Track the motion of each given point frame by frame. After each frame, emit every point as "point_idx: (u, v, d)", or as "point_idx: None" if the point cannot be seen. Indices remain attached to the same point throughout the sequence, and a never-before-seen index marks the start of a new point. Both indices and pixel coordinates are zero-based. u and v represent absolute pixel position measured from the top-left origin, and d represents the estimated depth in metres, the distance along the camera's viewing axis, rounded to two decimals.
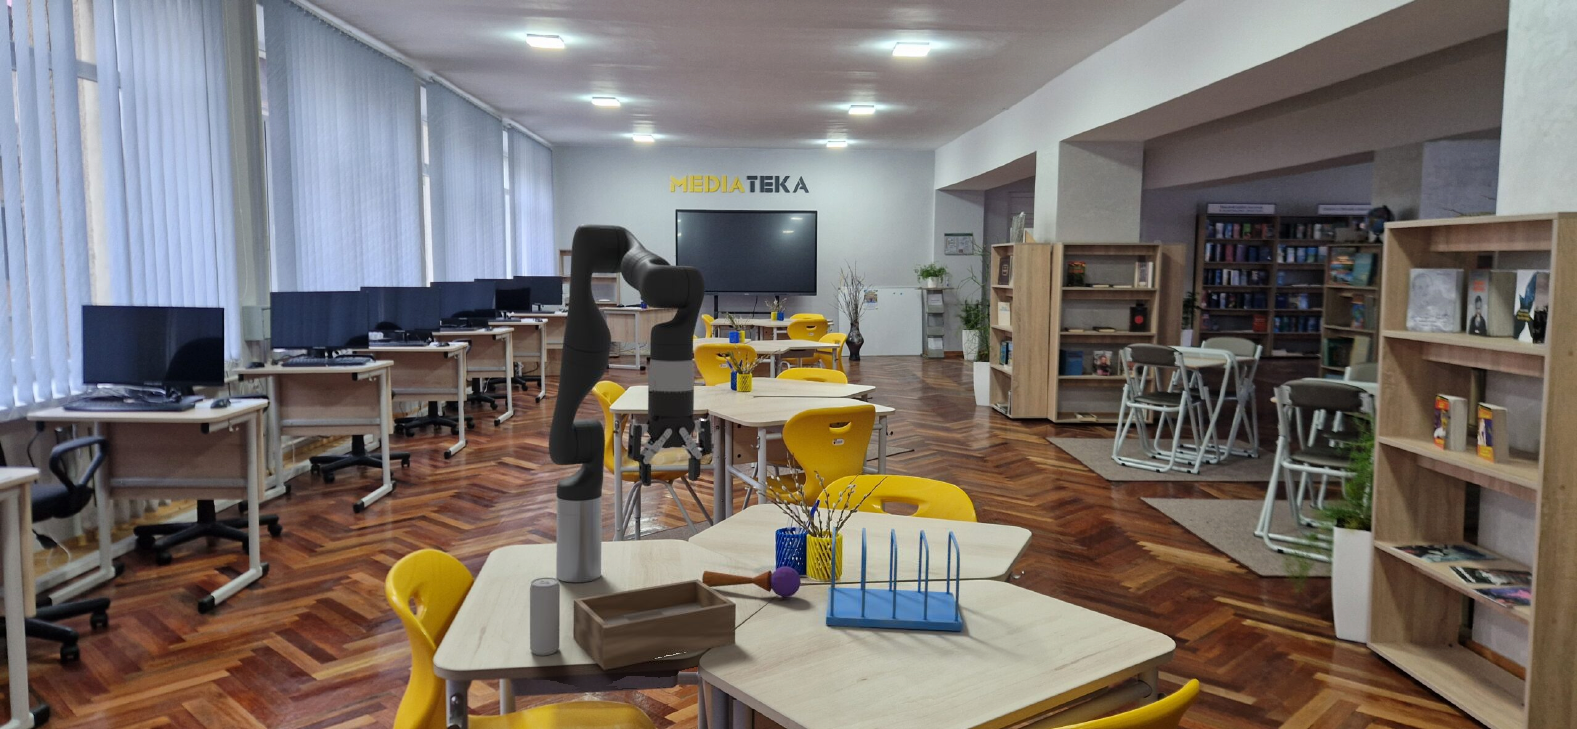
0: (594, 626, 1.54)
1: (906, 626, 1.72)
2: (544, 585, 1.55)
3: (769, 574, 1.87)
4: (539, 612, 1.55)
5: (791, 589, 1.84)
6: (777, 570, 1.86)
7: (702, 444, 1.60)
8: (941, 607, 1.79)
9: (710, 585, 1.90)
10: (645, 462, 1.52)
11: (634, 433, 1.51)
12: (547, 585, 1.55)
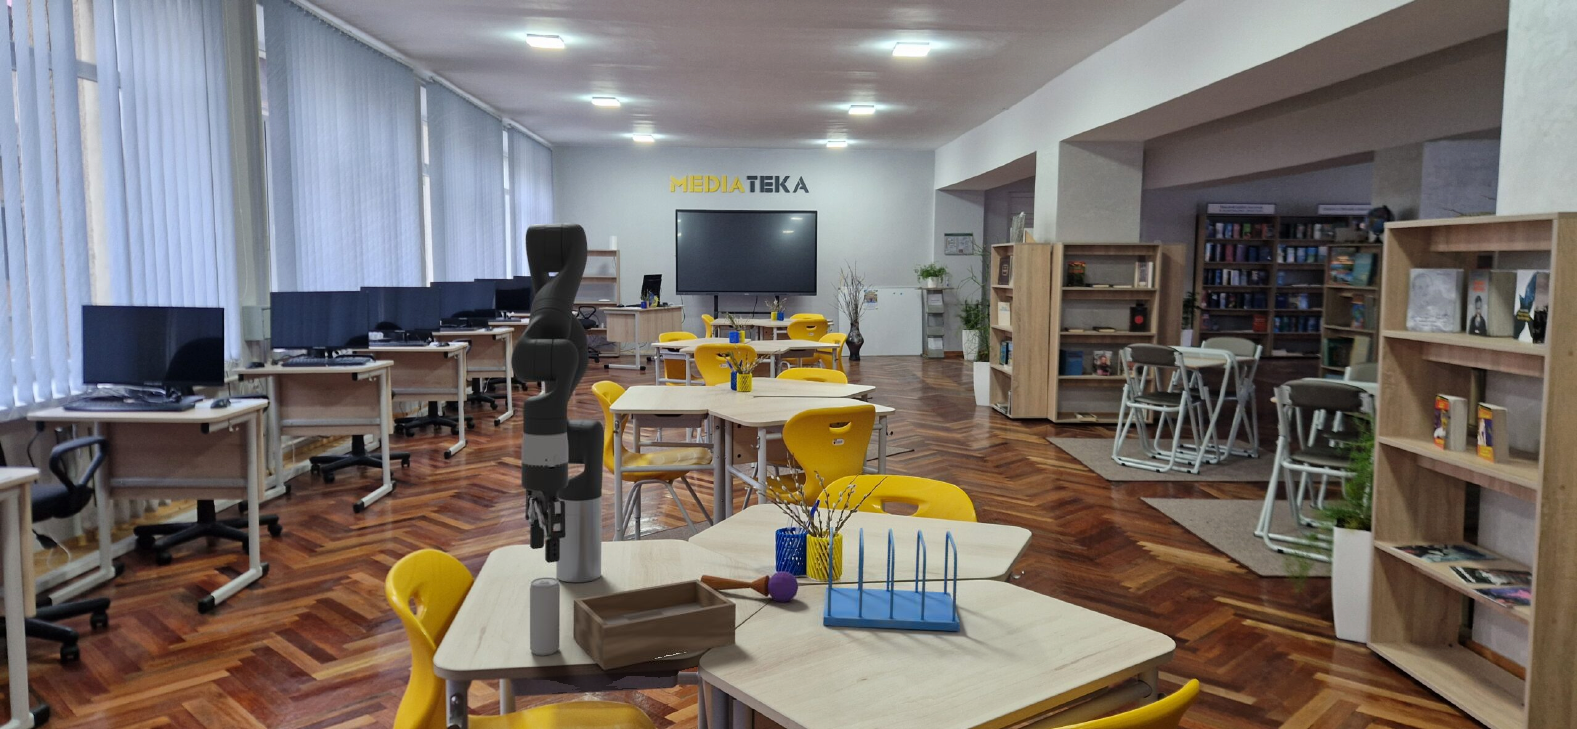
0: (594, 626, 1.54)
1: (904, 627, 1.71)
2: (544, 585, 1.55)
3: (766, 581, 1.85)
4: (539, 612, 1.55)
5: (789, 598, 1.83)
6: (773, 579, 1.84)
7: None
8: (938, 607, 1.79)
9: None
10: None
11: (564, 510, 1.50)
12: (547, 585, 1.55)
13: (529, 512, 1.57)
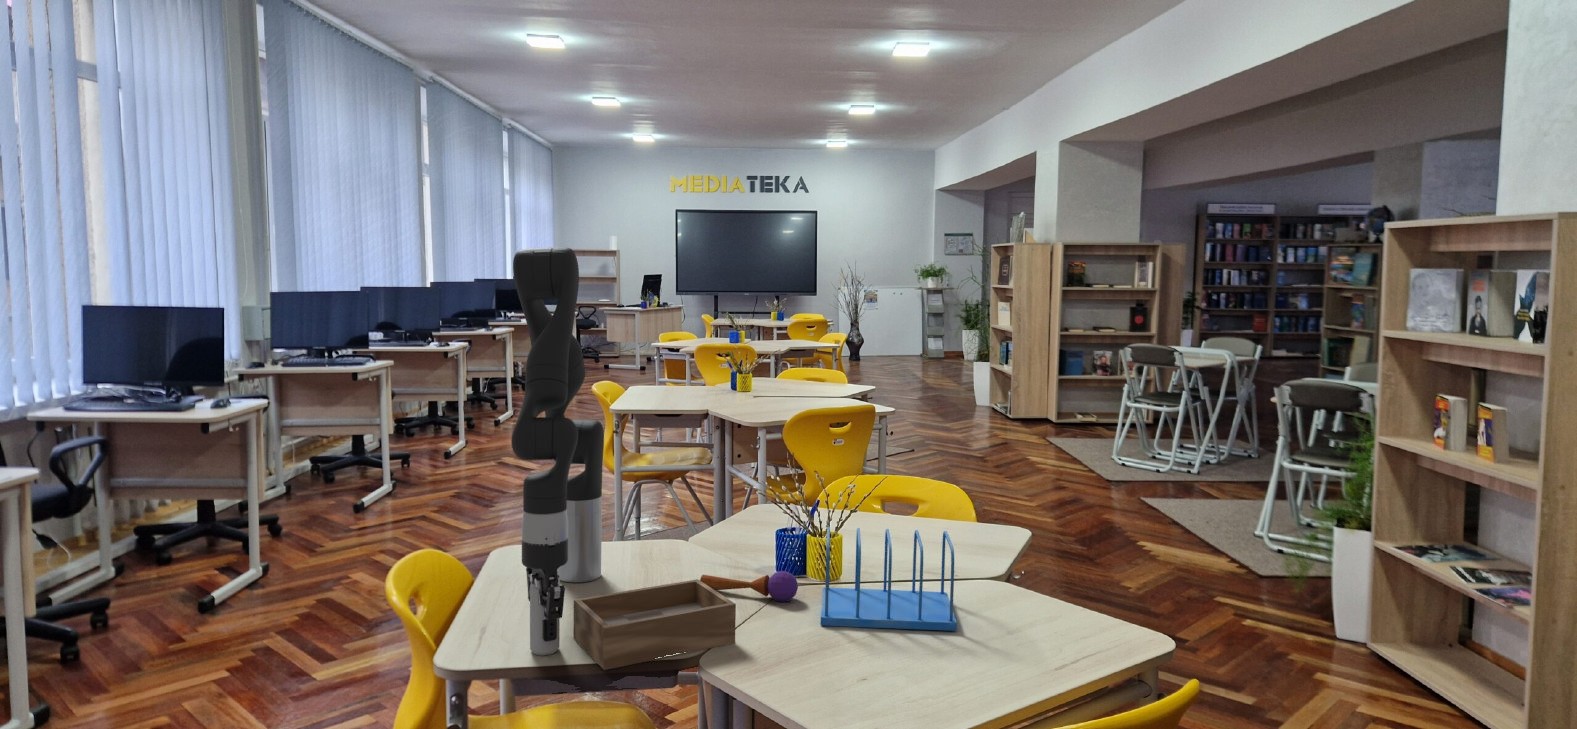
0: (594, 626, 1.54)
1: (901, 627, 1.71)
2: None
3: (765, 581, 1.86)
4: (539, 612, 1.55)
5: (789, 597, 1.84)
6: (773, 579, 1.84)
7: None
8: (936, 607, 1.79)
9: None
10: None
11: (563, 595, 1.52)
12: None
13: None
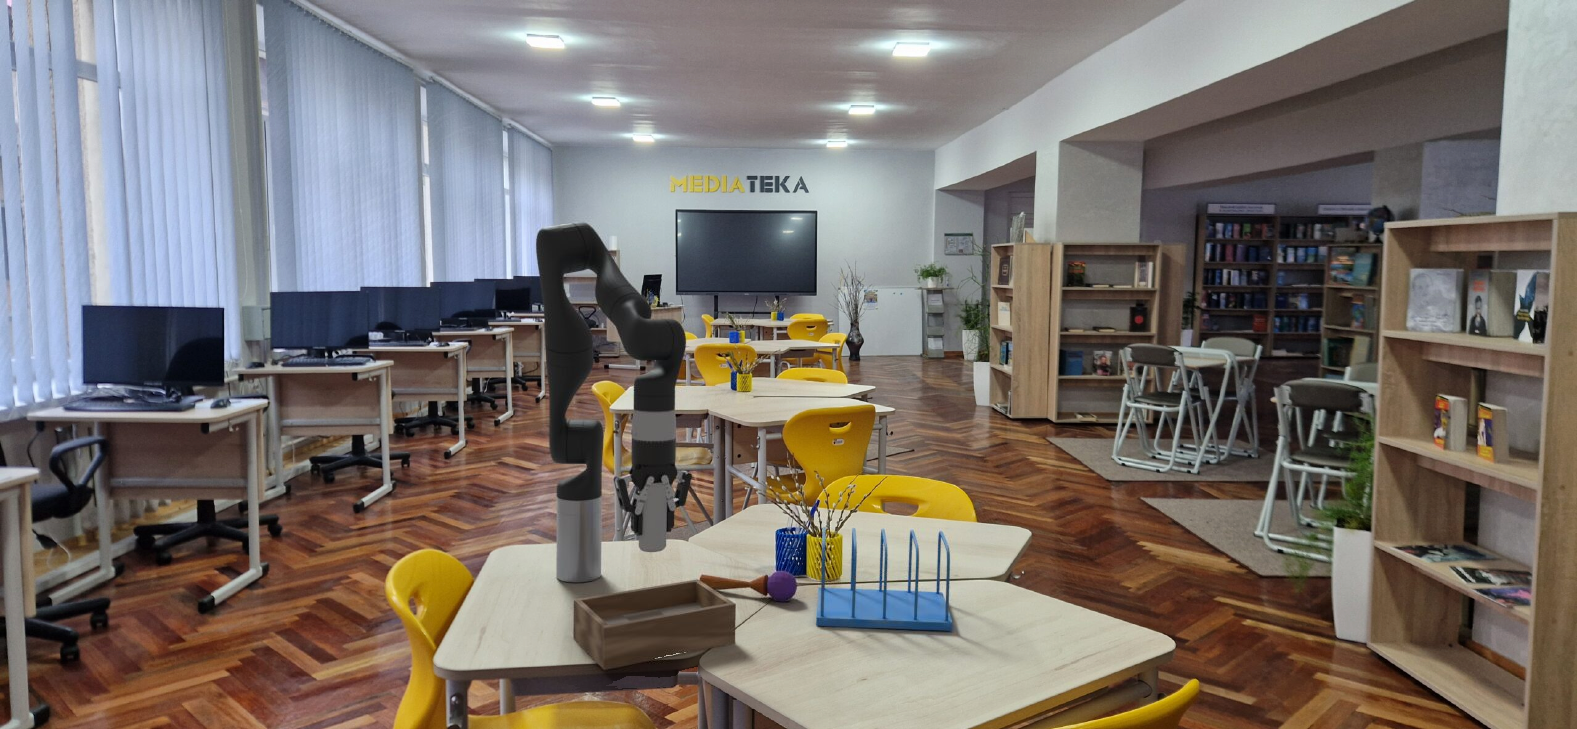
0: (594, 626, 1.54)
1: (897, 627, 1.71)
2: None
3: (765, 581, 1.86)
4: (666, 506, 1.61)
5: (788, 597, 1.84)
6: (772, 579, 1.84)
7: None
8: (931, 607, 1.79)
9: None
10: None
11: None
12: None
13: (644, 495, 1.58)
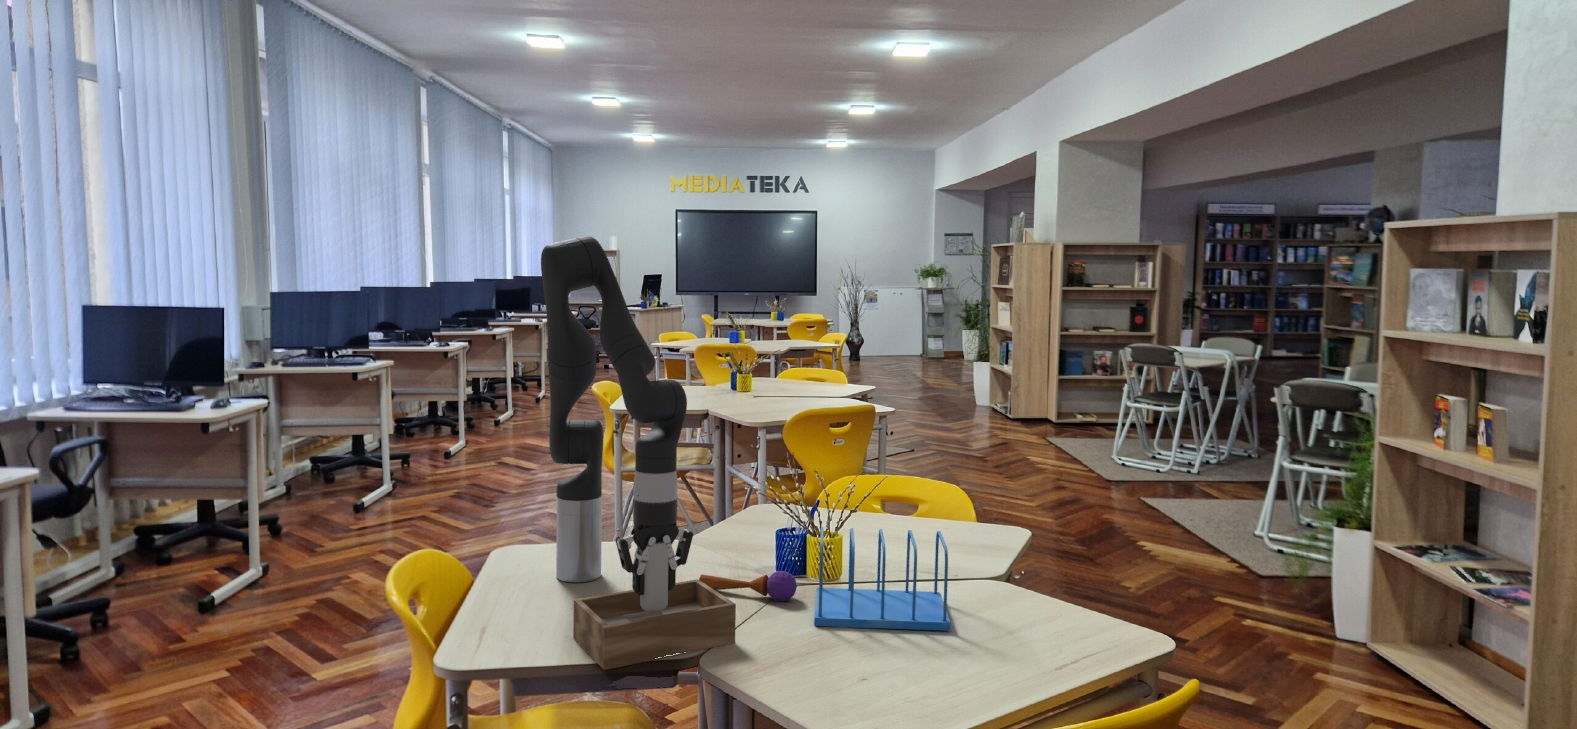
0: (594, 626, 1.54)
1: (895, 627, 1.71)
2: None
3: (764, 581, 1.86)
4: (667, 565, 1.62)
5: (788, 597, 1.84)
6: (772, 579, 1.84)
7: None
8: (929, 607, 1.79)
9: None
10: None
11: None
12: None
13: (646, 556, 1.59)
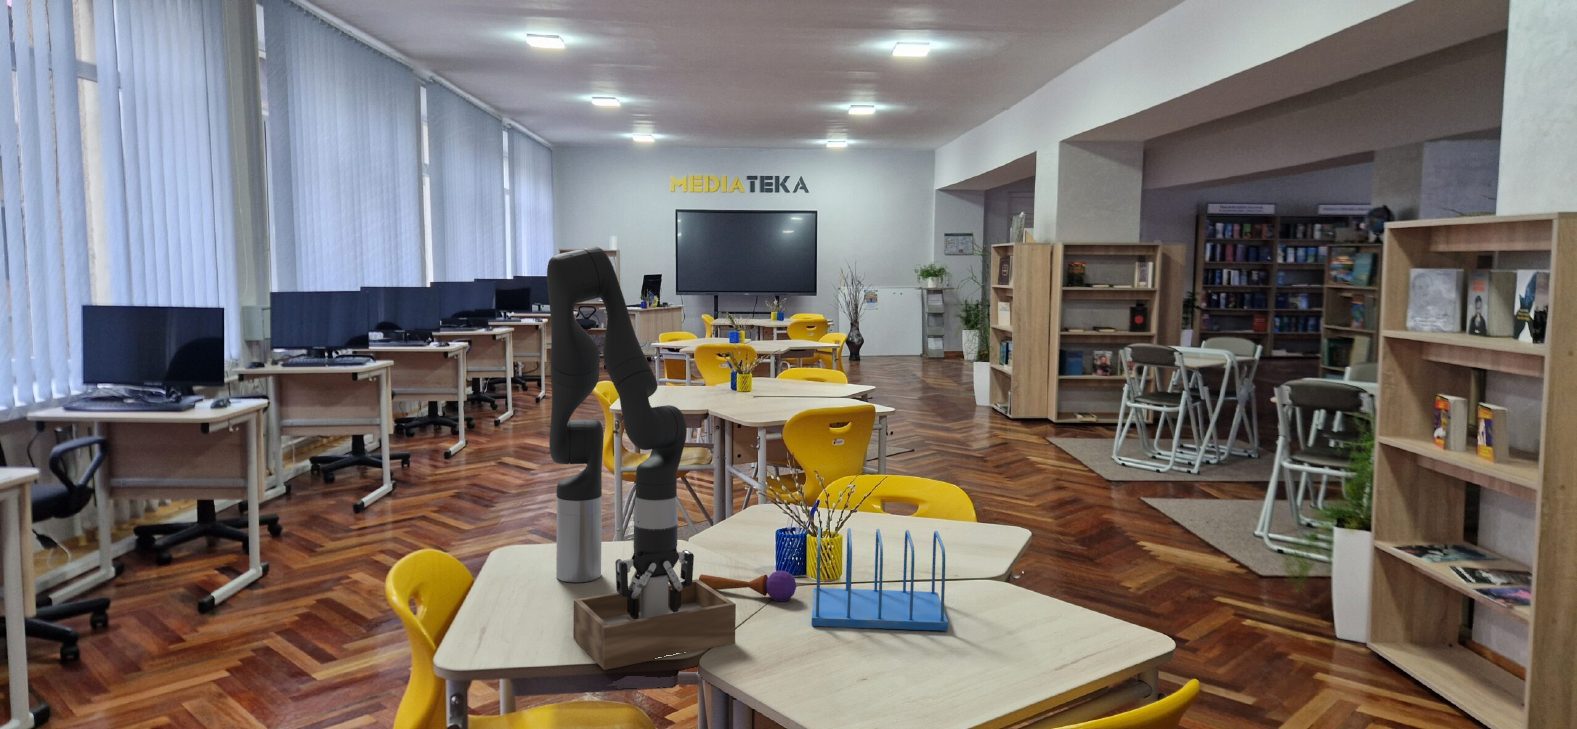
0: (594, 626, 1.54)
1: (892, 627, 1.71)
2: None
3: (764, 581, 1.86)
4: (667, 599, 1.62)
5: (787, 597, 1.84)
6: (771, 579, 1.84)
7: None
8: (927, 607, 1.79)
9: None
10: None
11: None
12: None
13: (644, 581, 1.60)
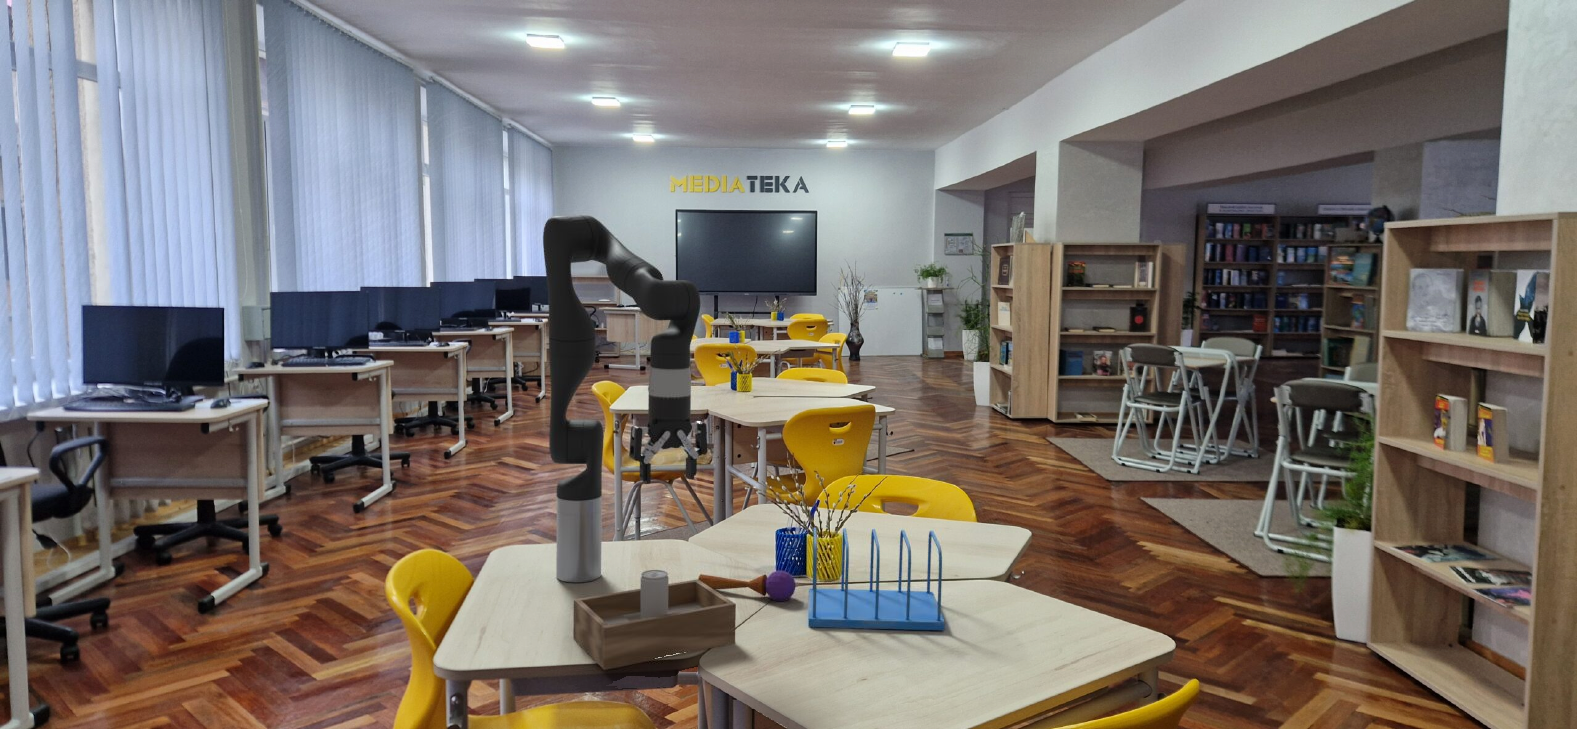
0: (594, 626, 1.54)
1: (889, 627, 1.71)
2: (664, 573, 1.63)
3: (763, 581, 1.86)
4: (667, 599, 1.62)
5: (787, 597, 1.84)
6: (770, 578, 1.84)
7: None
8: (923, 607, 1.79)
9: None
10: None
11: None
12: (663, 573, 1.63)
13: (657, 447, 1.65)
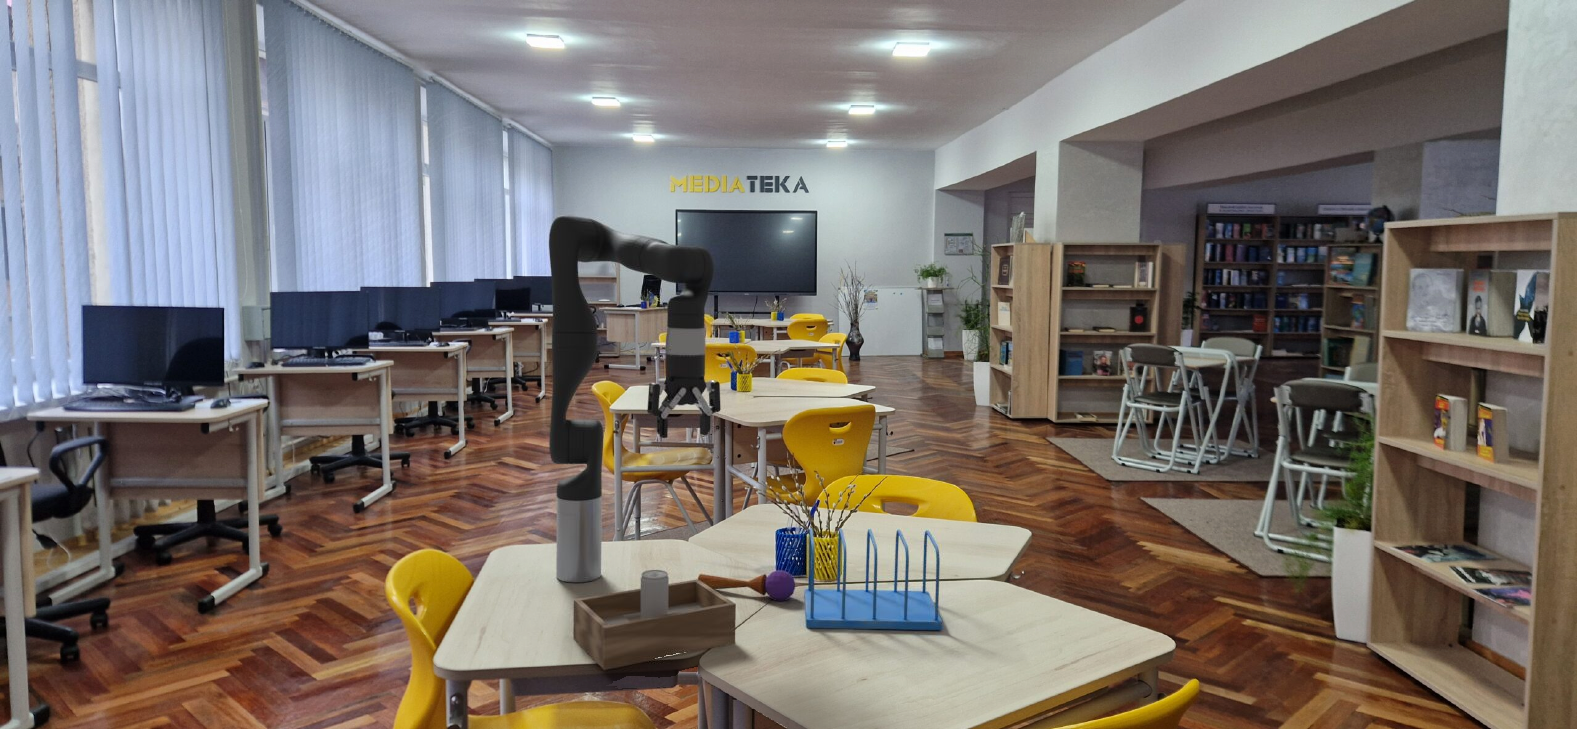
0: (594, 626, 1.54)
1: (887, 627, 1.71)
2: (664, 573, 1.63)
3: (763, 580, 1.86)
4: (667, 599, 1.62)
5: (786, 596, 1.84)
6: (770, 578, 1.85)
7: None
8: (919, 606, 1.79)
9: None
10: None
11: None
12: (663, 573, 1.63)
13: (674, 403, 1.75)
